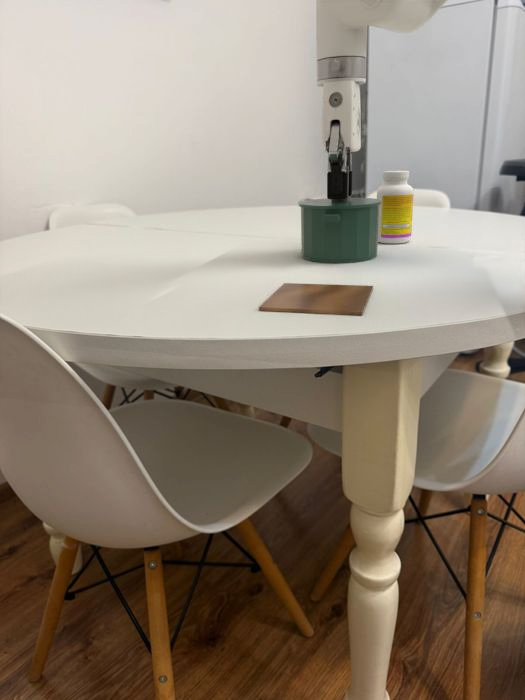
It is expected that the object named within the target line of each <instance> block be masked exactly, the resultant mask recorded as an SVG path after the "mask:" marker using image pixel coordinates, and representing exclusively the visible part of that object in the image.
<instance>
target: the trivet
mask: <svg viewBox="0 0 525 700" xmlns="http://www.w3.org/2000/svg"><path fill="white" fill-rule="evenodd" d="M373 291H374V285H362V284H361V285H359V284H357V285H356V284H328V283H327V284H326V283H325V284H324V283H323V284H322V283H299V282H298V283H297V282H295V283H294V282H292V283H291V282H284V283H283V284H282V285H281V286H280V287H278V289H276V290H275V291H274V292H273V293H272V294H271V295H270V296H269V297H268V298H267V299H266V300H265V301H264V302H263V303H261V305H260V306H259V307H258V311H262V312H263V311H264V312H285V313H306V314H326V315H327V314H328V315H346V316H347V315H349V316H363V315H364V312H365V310H366V307H367V305H368V302H369V300H370V297H371V295H372V293H373Z"/></svg>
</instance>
